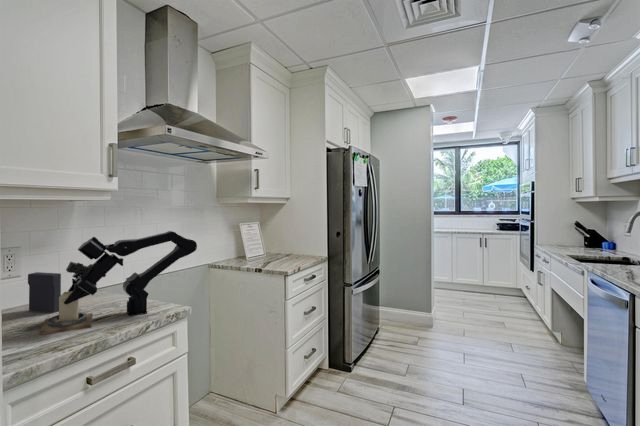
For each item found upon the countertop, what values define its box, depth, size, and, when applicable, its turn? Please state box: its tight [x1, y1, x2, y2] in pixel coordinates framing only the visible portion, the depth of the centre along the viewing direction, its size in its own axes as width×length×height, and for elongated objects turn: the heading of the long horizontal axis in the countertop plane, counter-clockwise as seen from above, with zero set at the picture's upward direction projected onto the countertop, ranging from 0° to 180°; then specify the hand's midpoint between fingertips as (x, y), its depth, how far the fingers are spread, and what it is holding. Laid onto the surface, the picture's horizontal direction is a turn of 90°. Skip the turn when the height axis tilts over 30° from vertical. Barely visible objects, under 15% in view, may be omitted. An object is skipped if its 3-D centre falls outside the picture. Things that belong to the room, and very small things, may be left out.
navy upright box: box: [27, 271, 62, 314], centre depth 131 cm, size 11×4×15 cm, turn 84°
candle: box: [58, 291, 79, 322], centre depth 117 cm, size 6×6×10 cm
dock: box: [38, 311, 94, 335], centre depth 117 cm, size 14×14×2 cm
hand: (64, 301), depth 116 cm, fingers closed on candle, 5 cm apart
